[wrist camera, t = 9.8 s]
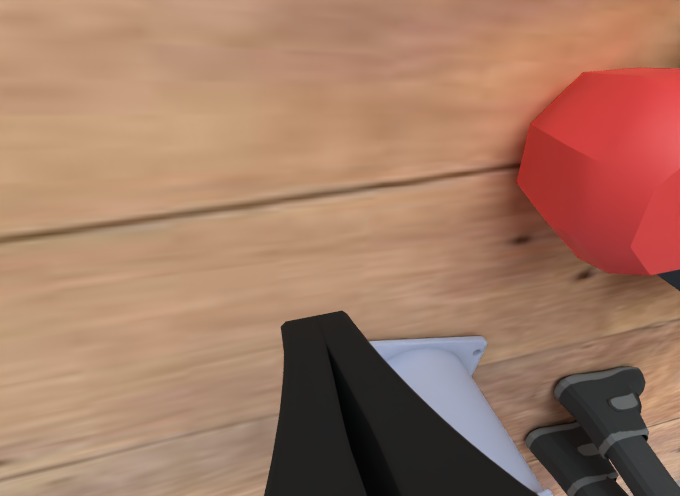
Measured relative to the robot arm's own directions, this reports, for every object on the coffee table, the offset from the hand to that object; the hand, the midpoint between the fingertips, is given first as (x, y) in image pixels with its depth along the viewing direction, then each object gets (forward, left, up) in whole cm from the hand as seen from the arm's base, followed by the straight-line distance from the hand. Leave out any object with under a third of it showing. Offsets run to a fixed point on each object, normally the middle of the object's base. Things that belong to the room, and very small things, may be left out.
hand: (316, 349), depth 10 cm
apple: (+3, -14, -10) cm, 17 cm away
